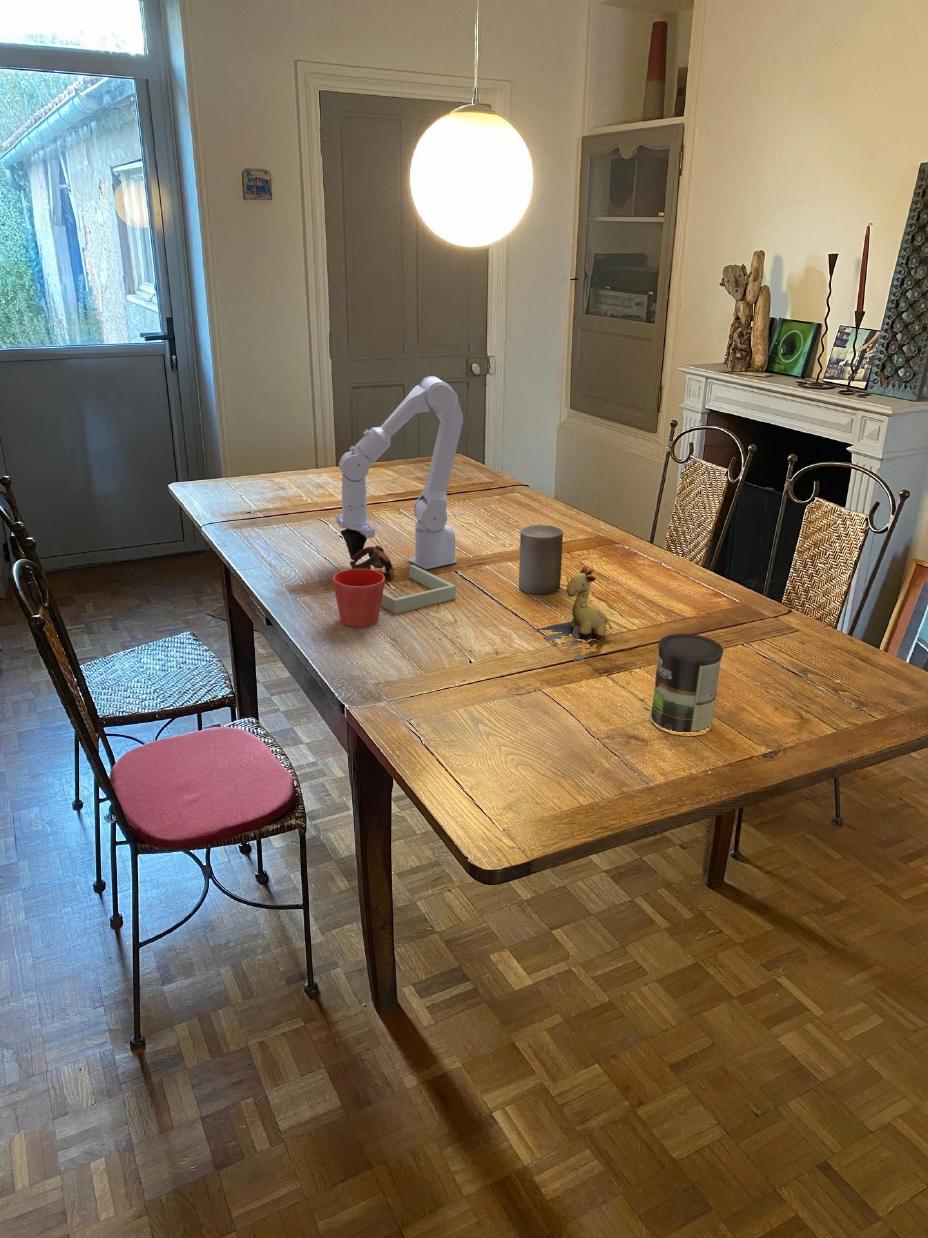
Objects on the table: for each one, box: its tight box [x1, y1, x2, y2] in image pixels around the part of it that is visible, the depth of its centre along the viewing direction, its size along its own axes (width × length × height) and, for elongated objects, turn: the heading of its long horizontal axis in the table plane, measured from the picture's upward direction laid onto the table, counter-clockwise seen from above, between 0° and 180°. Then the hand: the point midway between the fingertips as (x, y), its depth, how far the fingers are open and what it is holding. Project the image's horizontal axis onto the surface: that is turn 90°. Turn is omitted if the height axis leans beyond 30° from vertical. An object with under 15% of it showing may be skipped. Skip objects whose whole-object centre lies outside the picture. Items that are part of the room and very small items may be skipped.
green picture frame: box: [381, 564, 457, 615], centre depth 210 cm, size 16×17×3 cm
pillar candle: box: [518, 524, 564, 596], centre depth 213 cm, size 10×10×15 cm
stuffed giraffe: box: [534, 566, 613, 661], centre depth 187 cm, size 16×18×16 cm
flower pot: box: [332, 568, 386, 628], centre depth 194 cm, size 11×11×10 cm
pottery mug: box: [349, 545, 396, 581], centre depth 220 cm, size 12×10×8 cm
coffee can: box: [650, 633, 724, 732], centre depth 156 cm, size 10×10×14 cm
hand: (355, 559), depth 225 cm, fingers closed
